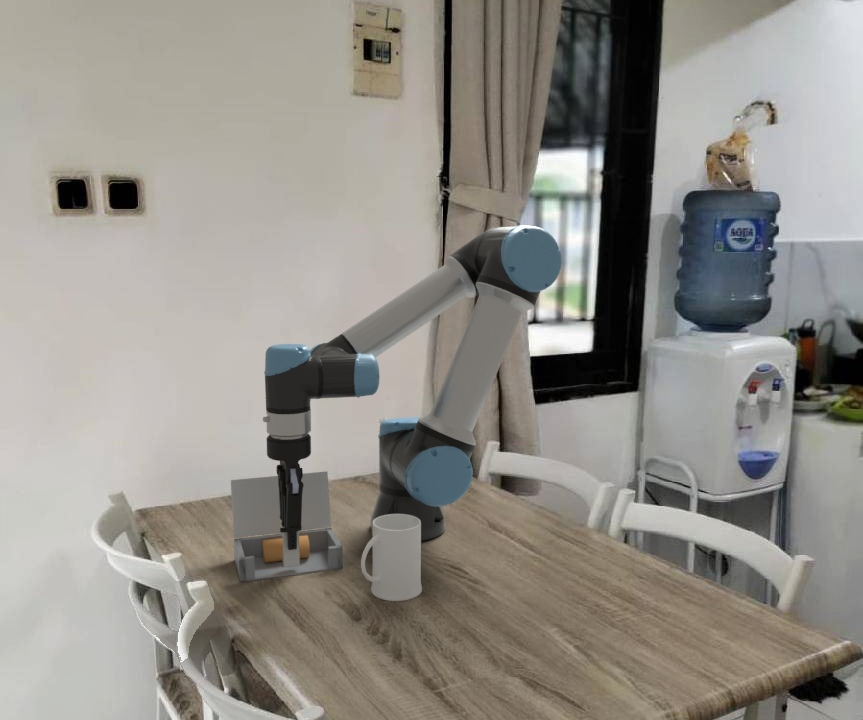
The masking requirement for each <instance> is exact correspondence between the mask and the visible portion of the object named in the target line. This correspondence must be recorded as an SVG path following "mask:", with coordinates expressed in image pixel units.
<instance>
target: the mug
mask: <svg viewBox="0 0 863 720" xmlns="http://www.w3.org/2000/svg"><path fill="white" fill-rule="evenodd" d="M371 532H372V534H371V535H372V538H370V540H369V541H368V542H367V544H366V546H365V547H364V549H363V552H362V554H361V559H360V569H361V573H362V575H363V576H364V578H365V579H366V580H367V581H369V582H371V583H372V584H371V588H370V592H371V594H372V595H373V596H374V597H376V598H377V599H380V600H384V601H386V602H387V601H388V602H403V601H409V600H413V599H416V598H417V597H418V596H420V594H421V593H422V590H423V586H422V579H421V578H422V576H421V575H422V574H421V572H422V569H421V568H422V565H421V564H422V563H421V562H422V561H421V560H422V541H421V521H420V519H419V518H417V517H415V516H412V515H407V514H388V515H383V516H379V517H377V518H375V519H374V520H373V523H372V531H371ZM371 548H372V576H371V575H370V574H369V573H368V572H367V569H366V559H367V555H368V553H369V551H370V549H371Z"/></svg>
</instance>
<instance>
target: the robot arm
mask: <svg viewBox="0 0 863 720" xmlns="http://www.w3.org/2000/svg"><path fill="white" fill-rule="evenodd" d="M561 268H562V252H561V250H560V247H559V244H558V242H557V241H556V239H555V238H554V236H553V235H552V234H551V233H550V232H548V231H547V230H545V229H543V228H541V227H539V226H532V225H528V224H519V225H515V226H496V227H492V228H490V229H487V230H486V231H483V232H481V233H480V234H479V235H477V236H475V237H474V238H473V239H471V240H470V241H468V242H467V243H465V244H464V245H463V246H461V247H460V248H459V249H456V250H455V251H454V252H453V253H451V254H450V255H448V256H446V258H445V261H444V265H442V266H441V267H440V268H438V269H436V270H435V271H434V272H432V273H431V274H429V275H428V276H426V277H424V278H423V279H421V280H420V281H418V282H417V283H415V284H414V285H412V286H411V287H409V288H408V289H406V290H405V291H403V292H402V293H400V294H399V295H397V296H396V297H394V298H393V299H391V300H390V301H388V302H387V303H386V304H384V305H382V306H380V307H379V308H378V309H376V310H375V311H373V312H372V313H370V314H369V315H367V316H366V317H365V318H363V319H361V320H360V321H358V322H357V323H355V324H353V325H352V326H351V327H349V328H347V330H345V331H344V332H342V333H340V334H339V335H337V336H335V337H334V338H333V339H331V340H329V341H328V342H322V343H318V344H316V345H314V346H313V347H312V348H311V349H310V348H309V346H308V345H306V344H300V343H281V344H279V343H278V344H274V345H271V346H269V347H268V348H267V349H266V351H265V359H264V360H265V363H264V364H265V368H264V371H263V372H264V385H265V387H264V388H265V411H266V416H263V417H262V421H263V423H266V433H267V434H268V435H267V437H266V455H267V457H268V458H269V459H270V460H273V461H279V464H277V465H276V476H278V487H279V502H280V519H281V520H282V522H281V524H282V527H284V528H280V532H281V533H280V534H282V542H283V565H284V567H288V566H295V565H300V557H299V531H302V530H301V528H302V526H301V515H302V491H303V487H304V485H303V482H301V479H302V477H303V473H304V472H303V468H302V467H301V465H300V463H299V461H301V460H305V459H307V458H309V457H310V456H311V454H312V439H311V438H312V437H311V435H310V432H311V431H312V429H311V428H312V425H311V424H312V418H311V417H312V414H311V413H312V412H311V411H312V410H311V400H320V399H337V398H339V399H340V398H341V399H342V398H357V399H358V398H360V397H367V396H373V395H375V394H376V393H377V391H378V389H379V386H380V368H379V363H378V359H377V358H378V356H380V355H381V354H383V353H385V352H386V351H387V350H389V349H390V348H392V347H393V346H395V345H396V344H398V343H400V342H401V341H402V340H404V339H406V338H407V337H408V336H410V335H411V334H413V333H414V332H415V331H417V330H419V329H421V328H422V327H423V326H424V325H426V324H428V323H429V322H430V321H432V320H434V319H435V318H437V317H438V316H440V315H441V314H443V312H445V311H447V310H449V309H450V308H452V306H454V305H456V304H457V303H459V302H460V301H462V300H463V299H465V298H469V299H473V298H475V297H476V296H477V297H478V298H477V300H476V303H475V305H474V307H473V310H472V313H471V315H470V317H469V320H468V322H467V325H466V327H465V329H464V331H463V334H462V337H461V339H460V340H459V341H460V342H459V344H458V346H457V347H456V350H455V353H454V355H453V358H452V360H451V362H450V365H449V367H448V370H447V373H446V375H445V376H444V379H443V381H442V384H441V386H440V389H439V392H438V393H437V396H436V397H435V400H434V403H433V405H432V408H431V410H430V412H429V413H428V414H427V415H425V416H419V417H418V416H412V417H409V416H408V417H396V418H395V417H394V418H388V419H386V420H385V419H384V420H383V421H381V423H380V424H379V431H378V432H379V433H378V441H379V442H378V445H379V446H378V447H379V449H378V453H379V455H378V457H379V458H378V459H379V460H378V462H379V468H378V470H379V475H378V477H379V490H378V492H379V493H378V496H377V499H376V502H375V504H374V508H373V511H372V514H371V517H370V518H371V519H370V530H371V532H372V523H373V520H374V519H375V518H377V517H379V516H383V515H388V514H407V515H412V516H415V517H417V518H419V519H420V521H421V542H422V541H427V540H428V541H429V540H431V539H432V540H433V539H434V538H437V537H439V536H441V535H442V534H443V533H444V532H445V530H446V526H445V525H446V519H445V515H444V511H443V508H442V507H444V506H448V505H451V504H453V503H456V502H457V501H459V500H460V499H461V498H462V497H464V495H465V494H466V493H467V491H468V490H469V488H470V486H471V484H472V482H473V476H474V475H473V474H474V472H473V471H474V470H473V466H472V462H471V457H472V454H473V453H474V450H475V449H476V444H477V442H476V439H475V437H474V434H473V431H474V429H475V426H476V424H477V421H478V418H479V416H480V414H481V412H482V410H483V407H484V405H485V402H486V400H487V398H488V395H489V393H490V390H491V389H492V388H491V387H492V385H493V383H494V382H495V379H496V376H497V373H498V371H499V369H500V366H501V364H502V362H503V360H504V358H505V355H506V354H507V353H506V352H507V351H508V348H509V345H510V343H511V342H512V341H511V340H512V338H513V336H514V333H515V331H516V328H517V327H518V324H519V322H520V319H521V317H522V315H523V313H525V312H527V311H529V310H532V309H534V307H535V305H536V303H537V301H538V299H539V296H540V294H541V292H542V291H545V290H546V289H547V288H549V287H551V286H552V285H554V283H555V281H556V280H557V279H558V277H559V275H560V271H561ZM478 295H479V296H478Z"/></svg>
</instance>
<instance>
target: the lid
mask: <svg viewBox="0 0 863 720" xmlns="http://www.w3.org/2000/svg"><path fill="white" fill-rule="evenodd" d="M328 475H329V473H328V471H327V470H326V471H325V470H324V471H317V472H305V473H304V472H303V477H302V479H301V482H303V485H304V487H303V491H302V515H301V526H302V528H301V531H308V530H317V529H325V528H332V521H331V508H330V492H329V490H330V489H329V476H328ZM230 493H231V513H232V514H231V515H232V531H233V534H232V535H233V538H234V539H239V538H247V537H256V536H265V535H273V534H282V533H281V532H280V528H284V527H282V524H281V522H282V520H281V519H280V502H279V487H278V475H270V476H260V477H251V478H249V477H248V478H240V479H239V478H237V479H231V480H230Z"/></svg>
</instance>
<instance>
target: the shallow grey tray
mask: <svg viewBox="0 0 863 720" xmlns="http://www.w3.org/2000/svg"><path fill="white" fill-rule="evenodd" d="M305 535H307V536H308V539H309V545H310V556H309V557H307V558H300V565H295V566H288V567H284V565H283V561H276V562H268V563H264V560H263V550H262V542H263V540H270V539H279V538H282V533H273V534H264V535H256V536H247V537H238V538H234V539H233V546H234V548H233V550H234V551H233V552H234V553H233V554H234V562H235V566H236V570H237V571H236V572H237V576H238V578H239V582H240V583H243V582H244V583H245V582H251V581H259V580H265V579H273V578H281V577H289V576H296V575H302V574H303V575H305V574H311V573H317V572H324V571H325V572H326V571H333V570H335V571H336V570H339V569H340V570H341V569H344V547H343V545H342V543H341V541H340V540H339V538H338V536H337V535H336V534H335V531H334V530H333V529H332V527H325V528H317V529H308V530H301V531H299V536H305Z"/></svg>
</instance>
